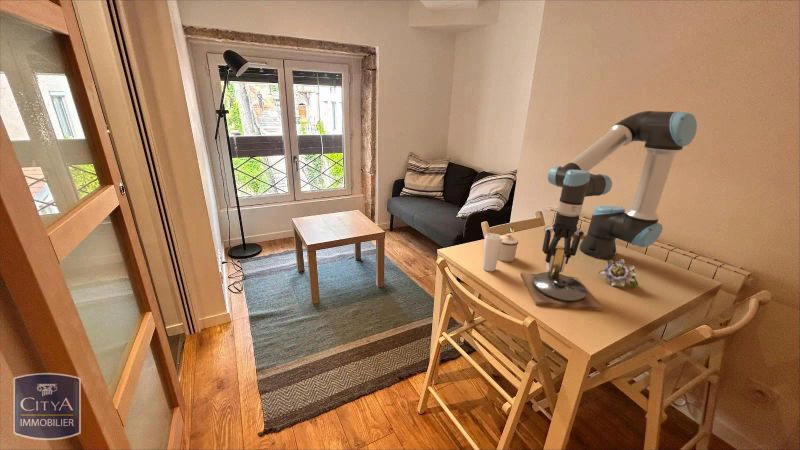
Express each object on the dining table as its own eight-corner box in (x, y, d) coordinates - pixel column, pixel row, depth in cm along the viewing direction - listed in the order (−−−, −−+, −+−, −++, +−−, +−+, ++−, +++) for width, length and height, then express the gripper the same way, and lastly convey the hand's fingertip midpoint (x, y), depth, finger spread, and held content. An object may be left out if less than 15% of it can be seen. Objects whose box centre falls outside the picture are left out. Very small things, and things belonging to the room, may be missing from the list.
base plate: (576, 280, 126) (577, 277, 125) (601, 310, 107) (602, 307, 106) (520, 275, 127) (521, 272, 127) (535, 305, 109) (536, 301, 108)
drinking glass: (488, 274, 128) (493, 240, 122) (477, 266, 133) (481, 234, 128) (500, 270, 131) (506, 238, 125) (489, 263, 136) (494, 232, 131)
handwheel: (573, 277, 124) (581, 246, 119) (595, 304, 107) (606, 269, 103) (526, 273, 126) (533, 243, 121) (541, 299, 109) (549, 265, 104)
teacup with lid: (518, 258, 142) (523, 235, 138) (507, 264, 136) (512, 240, 132) (496, 249, 150) (499, 226, 146) (484, 254, 145) (488, 231, 141)
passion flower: (609, 297, 125) (595, 272, 124) (612, 281, 132) (599, 258, 131) (642, 293, 117) (627, 266, 116) (643, 277, 124) (630, 251, 123)
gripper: (547, 215, 110) (534, 273, 118) (597, 218, 109) (581, 276, 117) (540, 208, 117) (528, 264, 125) (587, 211, 116) (572, 267, 124)
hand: (554, 270), depth 121 cm, fingers closed on handwheel, 4 cm apart
